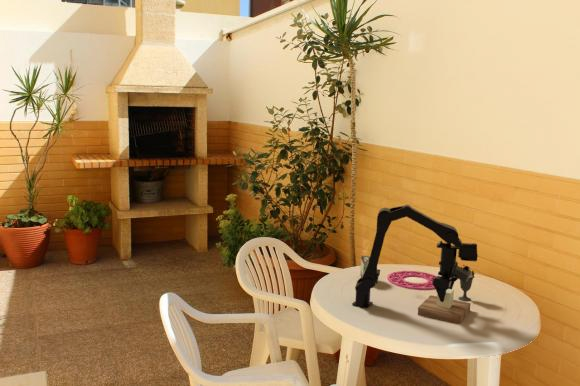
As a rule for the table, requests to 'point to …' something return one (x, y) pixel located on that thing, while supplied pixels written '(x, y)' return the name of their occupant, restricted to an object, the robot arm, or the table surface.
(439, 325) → the table surface
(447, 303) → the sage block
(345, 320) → the table surface
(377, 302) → the table surface
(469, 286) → the sundae
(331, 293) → the table surface
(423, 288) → the trivet
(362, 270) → the food container
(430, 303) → the walnut base
